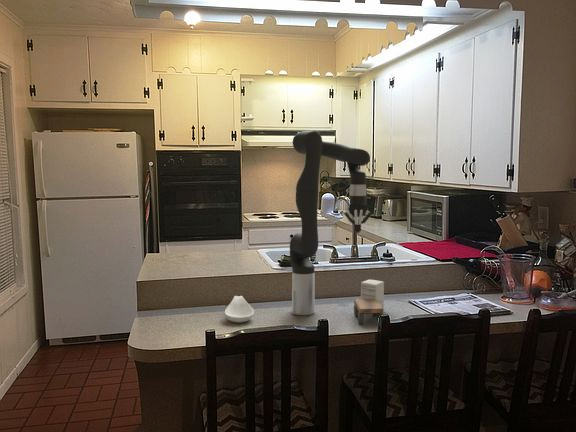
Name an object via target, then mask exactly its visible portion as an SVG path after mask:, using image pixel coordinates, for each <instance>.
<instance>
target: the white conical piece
mask: <svg viewBox="0 0 576 432" xmlns="http://www.w3.org/2000/svg"><path fill="white" fill-rule="evenodd" d="M254 313H255V310H254V308H253V307H252V306H251V305H250V304H249V303H248V301H247V300H246V299H245V298H244V297H243V295H240V296H239V295H238V296H237V295H234V296H233V299H232V300H231V302H230V303H229V304H228V305H227V306H226V308H225V311H224V313H223V314H224V316H225V317H226V319H227V320H228V321H230V322H233V323H245V322H246V323H247V321H249V320H251V319H252V318H253V316H254Z"/></svg>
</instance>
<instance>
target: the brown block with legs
mask: <svg viewBox="0 0 576 432" xmlns="http://www.w3.org/2000/svg"><path fill="white" fill-rule="evenodd" d="M353 299H354V298H353ZM353 304H354V305H353V314H354V315H353V316H354V317H355V318H357V321H358V325H364V324H365V314H371V313H372V314H371V315H372V317H376V322H377V324H378V318H379V316H380V315H383V316H384V310H383V307H382V306H381V305H380V304H379V302H378V301H377V300H376V299H361V298H360V299H358V298H356V299H354V300H353Z"/></svg>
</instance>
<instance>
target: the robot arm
mask: <svg viewBox="0 0 576 432" xmlns="http://www.w3.org/2000/svg"><path fill="white" fill-rule="evenodd" d="M292 146H293V148H294V151H296V152H297V153H299V154H302V155H305V162H304V167H303V170H302V172H301V174H300V176H299V178H298V179H297V180H298V181H297V183H296V185H295V205H296V208H297V211H298V214H299V217H300V220H301V232H300V233H299V232H298V233H295V234H294V235H292V237H291V239H290V241H289V260H290V266H291V270H292V271H291V272H292V279H291V281H292V282H291V283H292V289H291V297H292V298H291V302H292V303H291V304H292V306H291V311H292V315H297V316H310V315H311V316H312V315H314V314H315V309H316V307H315V279H316V278H315V275H316V274H315V265H314V264H313V263H312V262H311V260H310V258H312V257H314V256H315V255H316V254H317V252H318V249H319V232H318V231H319V229H318V206H319V204H318V203H319V179H320V167H321V165H320V164H321V158H322V157H325V158H329V159H331V160H332V159H333V160H336V161H339V162H344V163H347V168H348V173H349V175H350V176H349V177H350V178H349V181H350V182H349V192H348V194H349V205H348V209H347V210H346V211H345V212H343V215H344V216H345V217H346V218H347V220H348V221H349V222H350V223H351V224H353V231H354V232H355V234H358V233H359V234H360V232H361V231H362V224H365V223H366V222H367V221H368V220H369V218H370V217H371V215H372V214H373V213H372V212H371V211H369V210H368V207H367V174H366V172H365V171H362V170H360V167H362V166H363V167H364V166H367V165H368V164H369V162H370V160H371V156H370V153H369V152H368V151H367V150H366V149H364V148H363V149H362V148H357V147H351V146H347V145H345V144H341V143H337V142H330V141H325V140H323V137H322V135H321V133H320V132H319V131H318V130H303V131H300V132H297V133H296V134H294V136H293V138H292ZM350 215H351V216H352V217H353V218H352V217H351V216H350ZM364 215H365V216H364Z"/></svg>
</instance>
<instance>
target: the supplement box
mask: <svg viewBox="0 0 576 432" xmlns="http://www.w3.org/2000/svg"><path fill="white" fill-rule="evenodd" d="M384 289H385V281H382V280H375V279H367V280H364V281H361V282H360V299H376V300H377V301H378V302H379V304H380V305H381V306H382V307H383V311H384V310H385V309H384V308H385V307H384V306H385V305H384V304H385V302H384V300H385V299H384V298H385V297H384V296H385V295H384V293H385V290H384ZM370 314H371V315H372V313H370Z"/></svg>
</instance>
